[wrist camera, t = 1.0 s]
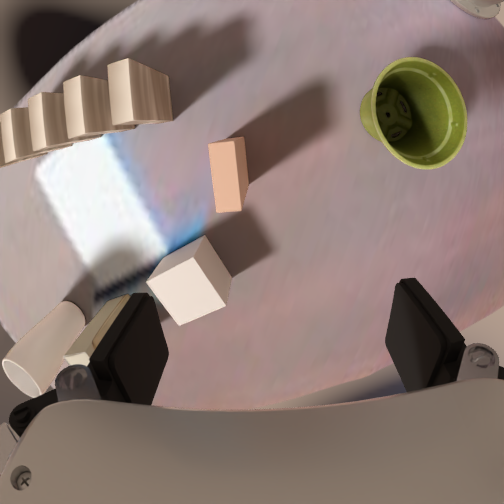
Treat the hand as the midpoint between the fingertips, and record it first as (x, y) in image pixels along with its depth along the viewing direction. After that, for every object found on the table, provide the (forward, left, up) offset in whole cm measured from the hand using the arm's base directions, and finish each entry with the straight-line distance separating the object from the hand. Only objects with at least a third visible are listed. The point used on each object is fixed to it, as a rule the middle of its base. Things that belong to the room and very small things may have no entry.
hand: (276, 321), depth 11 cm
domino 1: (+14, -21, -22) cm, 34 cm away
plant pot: (-15, -1, -22) cm, 27 cm away
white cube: (+12, +2, -22) cm, 25 cm away
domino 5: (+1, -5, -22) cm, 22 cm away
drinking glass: (+34, -3, -22) cm, 40 cm away
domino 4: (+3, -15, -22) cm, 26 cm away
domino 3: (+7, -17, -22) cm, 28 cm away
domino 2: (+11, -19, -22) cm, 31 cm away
